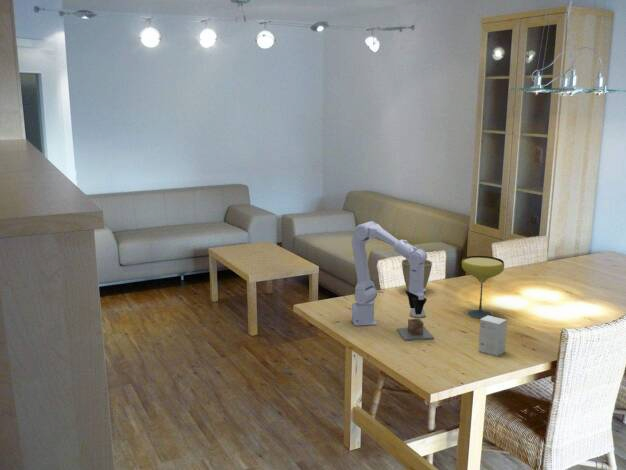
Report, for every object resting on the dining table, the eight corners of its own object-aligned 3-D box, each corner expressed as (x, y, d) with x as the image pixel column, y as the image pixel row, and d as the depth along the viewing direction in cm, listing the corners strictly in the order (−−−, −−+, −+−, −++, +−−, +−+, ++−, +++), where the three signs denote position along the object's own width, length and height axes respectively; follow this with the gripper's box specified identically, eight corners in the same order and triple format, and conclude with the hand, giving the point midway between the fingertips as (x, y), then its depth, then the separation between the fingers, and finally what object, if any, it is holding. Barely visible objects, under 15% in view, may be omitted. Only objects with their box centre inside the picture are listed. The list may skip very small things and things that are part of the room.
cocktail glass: (500, 309, 286) (504, 257, 280) (501, 323, 269) (504, 267, 263) (460, 306, 290) (462, 254, 285) (458, 319, 273) (461, 264, 268)
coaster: (404, 340, 250) (404, 339, 250) (396, 330, 261) (396, 328, 261) (433, 339, 251) (433, 337, 251) (424, 328, 263) (424, 326, 263)
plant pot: (433, 297, 303) (434, 265, 300) (402, 297, 304) (403, 265, 300) (428, 288, 318) (429, 258, 314) (399, 288, 318) (400, 258, 315)
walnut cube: (411, 335, 253) (411, 323, 252) (407, 330, 258) (408, 319, 257) (423, 334, 254) (423, 323, 253) (419, 330, 259) (419, 318, 258)
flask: (413, 319, 274) (414, 297, 272) (406, 313, 281) (407, 292, 279) (428, 317, 276) (429, 296, 274) (421, 312, 283) (422, 291, 281)
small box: (505, 351, 239) (507, 319, 236) (497, 356, 234) (499, 324, 231) (485, 346, 244) (487, 314, 241) (477, 351, 240) (479, 318, 237)
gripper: (431, 284, 246) (430, 316, 249) (420, 273, 260) (419, 304, 263) (414, 284, 245) (413, 317, 248) (404, 274, 259) (403, 305, 262)
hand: (415, 311), depth 255 cm, fingers open, 7 cm apart
